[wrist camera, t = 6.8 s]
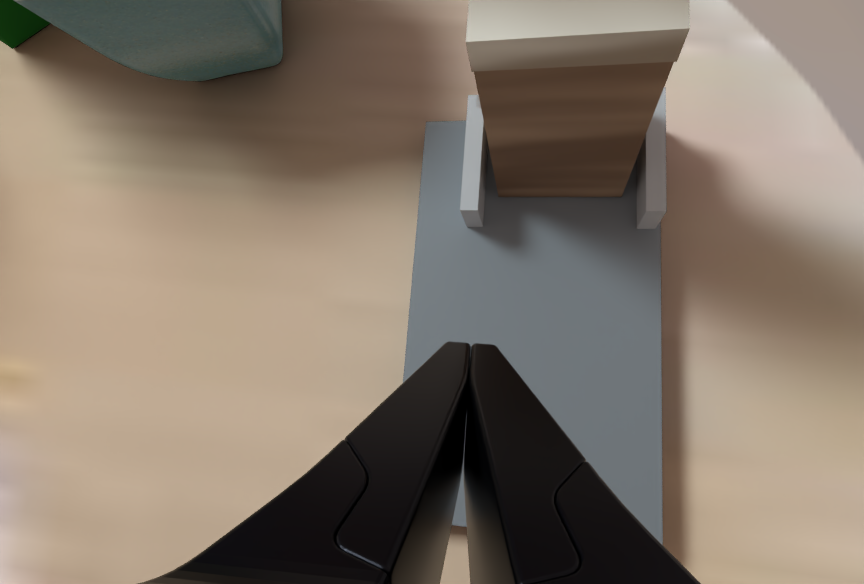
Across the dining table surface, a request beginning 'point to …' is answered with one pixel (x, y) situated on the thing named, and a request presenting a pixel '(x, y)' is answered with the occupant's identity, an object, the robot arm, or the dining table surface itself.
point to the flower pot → (173, 33)
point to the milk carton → (18, 23)
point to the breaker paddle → (570, 88)
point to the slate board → (551, 298)
